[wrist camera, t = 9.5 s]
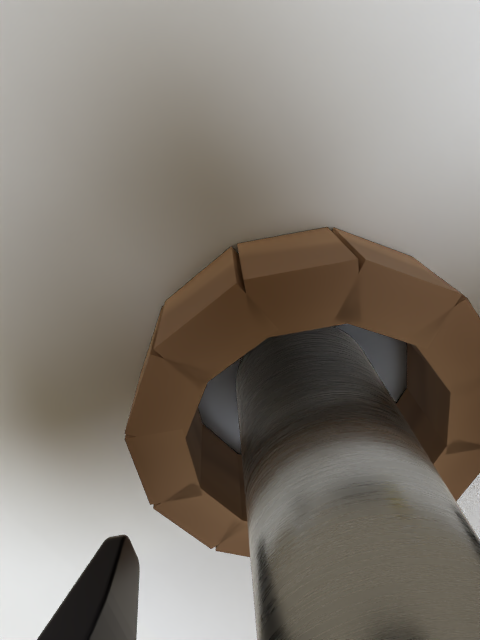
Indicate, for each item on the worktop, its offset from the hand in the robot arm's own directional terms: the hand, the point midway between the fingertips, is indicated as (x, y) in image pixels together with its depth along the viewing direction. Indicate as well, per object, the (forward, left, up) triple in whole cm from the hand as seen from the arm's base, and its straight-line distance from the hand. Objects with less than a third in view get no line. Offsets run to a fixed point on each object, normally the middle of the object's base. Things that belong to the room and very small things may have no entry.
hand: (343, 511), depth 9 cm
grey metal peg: (0, 0, -4) cm, 5 cm away
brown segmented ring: (0, 0, -4) cm, 4 cm away
